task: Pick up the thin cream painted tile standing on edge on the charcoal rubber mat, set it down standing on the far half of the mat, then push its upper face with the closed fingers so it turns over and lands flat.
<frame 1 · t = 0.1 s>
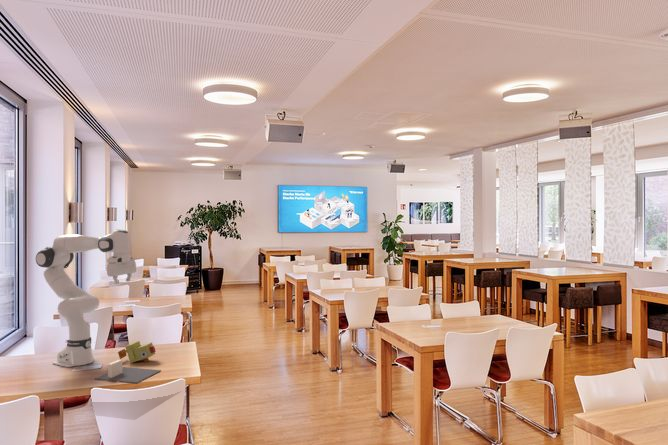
hand: (122, 282, 277), 48 cm above the table, fingers open, 8 cm apart
mat: (128, 375, 262), on the table
toy: (138, 361, 287), on the table
cream tile: (115, 375, 260), point 1 cm above the table, touching mat
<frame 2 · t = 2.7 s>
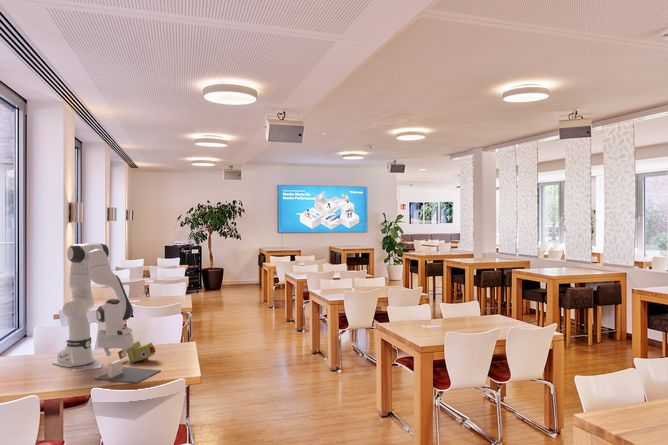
hand: (115, 356, 260), 11 cm above the table, fingers open, 8 cm apart
nothing on the table moved.
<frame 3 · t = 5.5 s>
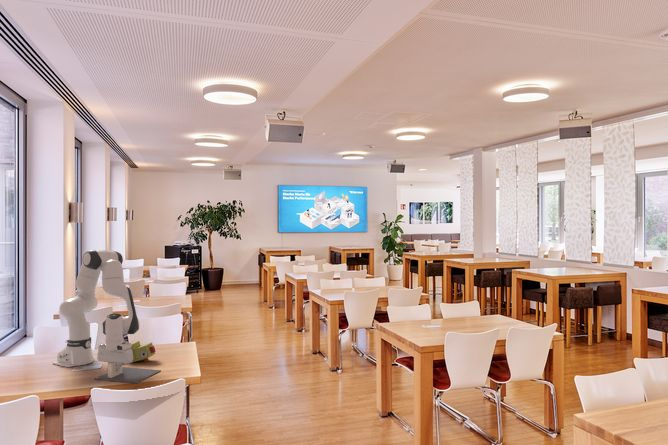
hand: (115, 370, 260), 3 cm above the table, fingers closed on cream tile, 2 cm apart
cream tile: (115, 375, 260), point 1 cm above the table, touching gripper, mat
everything else where it was.
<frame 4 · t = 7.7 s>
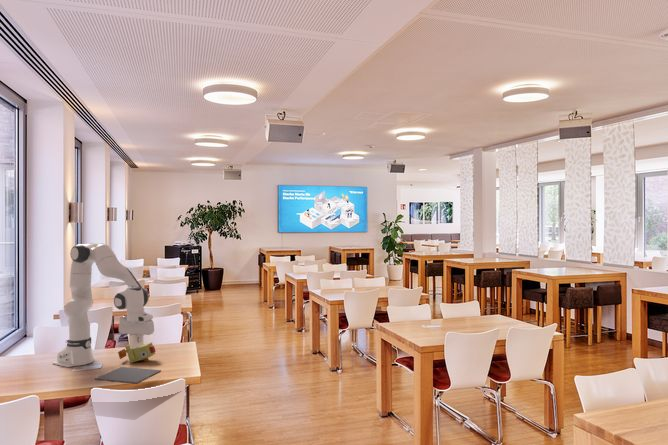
hand: (136, 342, 262), 18 cm above the table, fingers closed on cream tile, 2 cm apart
cream tile: (136, 346, 262), point 15 cm above the table, touching gripper
everything else where it was.
when the fingers open (4 cm above the table, at t = 10.0 s): cream tile stays where it is, resting on mat.
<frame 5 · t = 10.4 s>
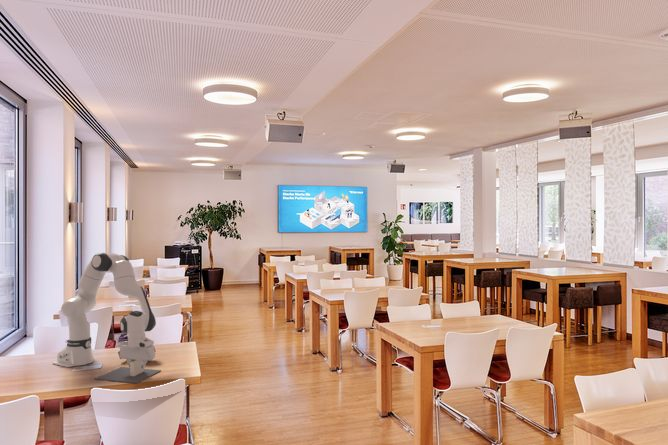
hand: (137, 367, 262), 4 cm above the table, fingers open, 6 cm apart
cream tile: (137, 373, 263), point 1 cm above the table, touching mat
everything else where it was.
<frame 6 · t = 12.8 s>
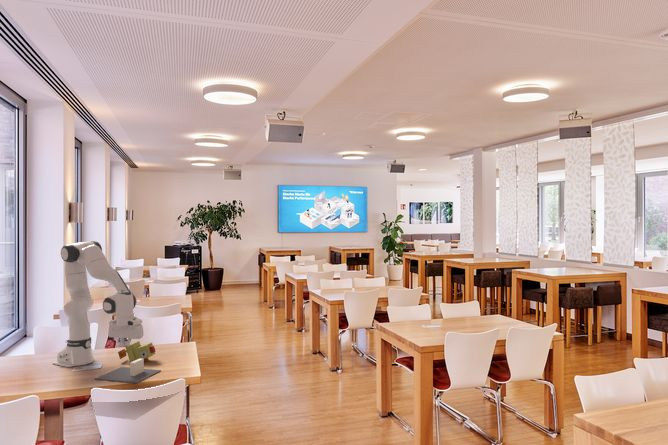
hand: (125, 346, 264), 15 cm above the table, fingers closed
nothing on the table moved.
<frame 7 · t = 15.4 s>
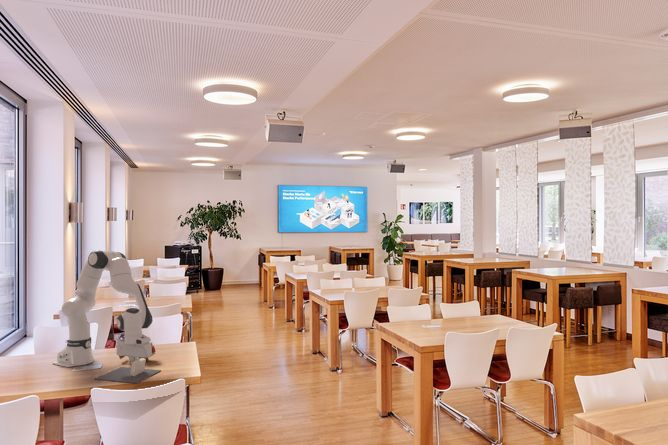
hand: (134, 364, 263), 5 cm above the table, fingers closed
cream tile: (137, 373, 263), point 1 cm above the table, tilted 11°, touching mat
everything else where it was.
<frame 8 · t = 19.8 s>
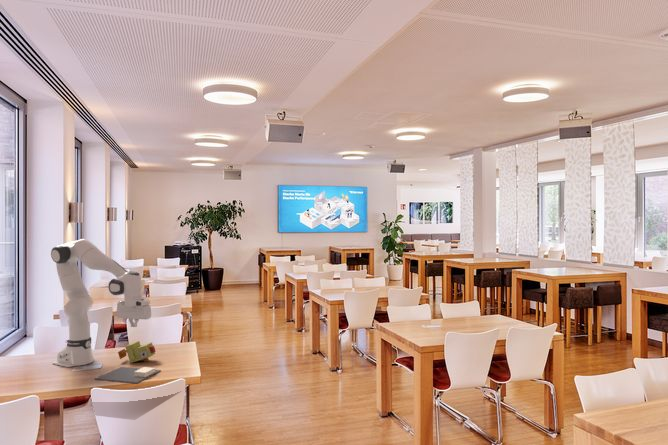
hand: (133, 326, 266), 25 cm above the table, fingers closed
cream tile: (139, 371, 262), point 2 cm above the table, tilted 90°, touching mat
everything else where it was.
at the end: cream tile tilted 90°; cream tile inside the target area on the mat (5.6 cm from its centre), point 1.8 cm above the mat's base; the gripper is holding nothing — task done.
